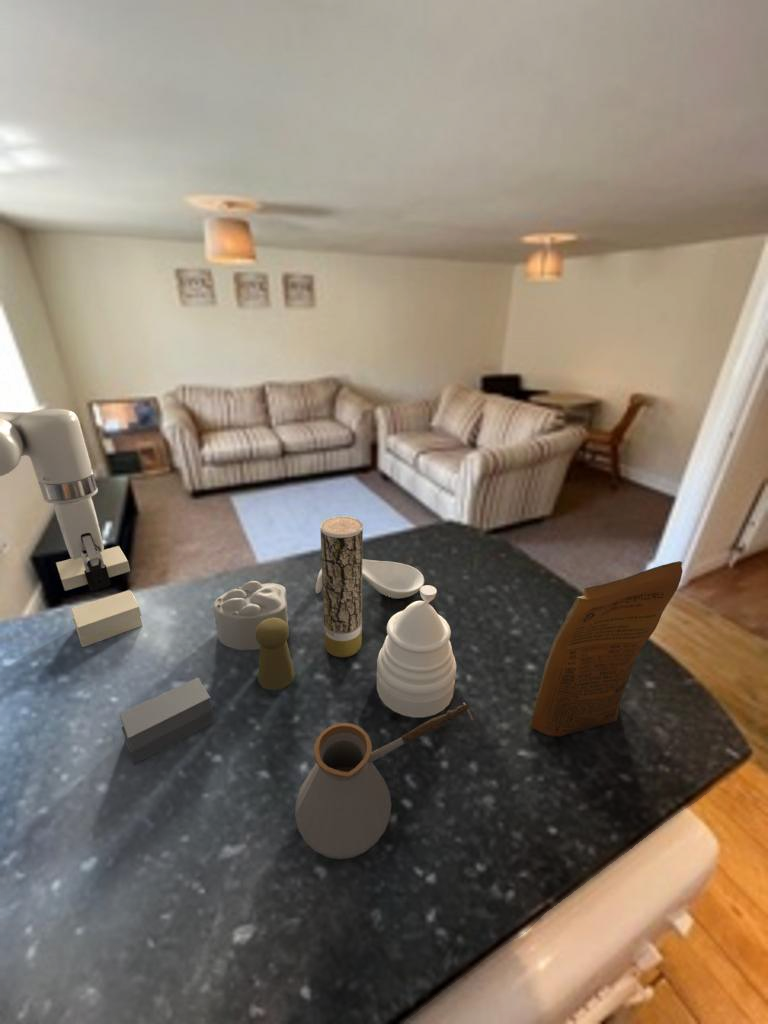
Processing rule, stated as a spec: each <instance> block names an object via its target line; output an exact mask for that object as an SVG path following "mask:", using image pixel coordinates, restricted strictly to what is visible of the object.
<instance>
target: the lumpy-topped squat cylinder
mask: <svg viewBox="0 0 768 1024" xmlns="http://www.w3.org/2000/svg"><path fill="white" fill-rule="evenodd" d="M287 601H288V600H287V589H286V587H284V585H281V584H279V583H272V582H271V583H260V582H259V581H256V580H251V581H247V582H246V583H244V584H243V585H242V586H238V587H236V588H234V589H231V590H229V591H226V592H225V593H223V594H222V595H220V596H219V597H218V598H216V599H215V601H214V602H213V607H212V608H213V614H214V620H215V627H216V632H217V633H216V634H217V639H218V641H219V642H220V643H221V644H222V645H224V646H225V647H228V648H231V649H234V650H239V651H254V650H260V645H259V643H258V642H257V640H256V633H255V632H256V629H257V626H258V625H259V624H260V623H261V622H262V621H263V620H265V619H268V618H280V619H282V620H284V621H285V622H286V624H287V625H288V626H289V615H288V602H287ZM289 635H290V634H289ZM289 635H288V638H289Z"/></svg>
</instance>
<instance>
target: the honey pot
mask: <svg viewBox="0 0 768 1024" xmlns="http://www.w3.org/2000/svg"><path fill="white" fill-rule="evenodd" d="M437 591H438V590H437V587H435V586H433V585H429V584H424V585H423V586H422V587H421V588H420V590H419V594H420V598H421V599H422V600H416V601H413V602H411V603H410V604H409V605H407V606H406V607H405V609H403V610H400V611H398V612H396V613H394V614H393V615H392V616H391V617H390V619H389V620H388V622H387V625H386V634H387V635H386V636H385V639H384V641H383V645H382V647H381V648H380V650H379V652H378V656H377V659H376V663H377V664H376V692H377V694H378V697H379V699H380V700H381V701H382V703H383V704H384V706H386V707H387V708H389V709H390V710H392V711H393V712H394V713H397V714H400V715H401V716H405V717H409V718H427V717H431V716H435V715H437V714H439V713H441V712H444V710H445V709H446V708H447V707H449V705H450V704H451V701H452V699H453V697H454V691H455V684H456V683H455V682H456V676H457V675H456V673H457V662H456V661H457V660H456V658H455V655H454V652H453V648H452V643H451V641H450V639H451V635H452V631H451V627H450V625H449V623H448V622H447V620H446V619H445V618H444V617H443V616H442V615H440V614H438V612H437V611H436V610H435V609H434V607H433V606H432V605H431V604H430V603H431V601H433V600H434V599H435V598H436V595H437Z"/></svg>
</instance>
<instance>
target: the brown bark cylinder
mask: <svg viewBox="0 0 768 1024" xmlns="http://www.w3.org/2000/svg"><path fill="white" fill-rule="evenodd" d="M319 529H320V555H321V569H322V610H323V611H322V612H323V613H322V614H323V632H324V633H323V635H324V636H323V637H324V648H325V650H326V651H327V653H328V654H330V655H331V656H332V657H335V658H348V657H349V658H350V657H351V656H354V655H356V654H357V653H358V652H359V650H361V647H362V642H363V641H362V633H363V632H362V631H363V577H362V559H363V548H364V547H363V545H364V544H363V541H364V540H363V537H364V535H363V534H364V533H363V532H364V531H363V530H364V527H363V522H362V521H361V520H360V519H358V518H355V517H354V516H353V517H352V516H346V515H338V516H332V517H329V518H326V519H324V520H323V521H322V522H321V523H320V527H319Z"/></svg>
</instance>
